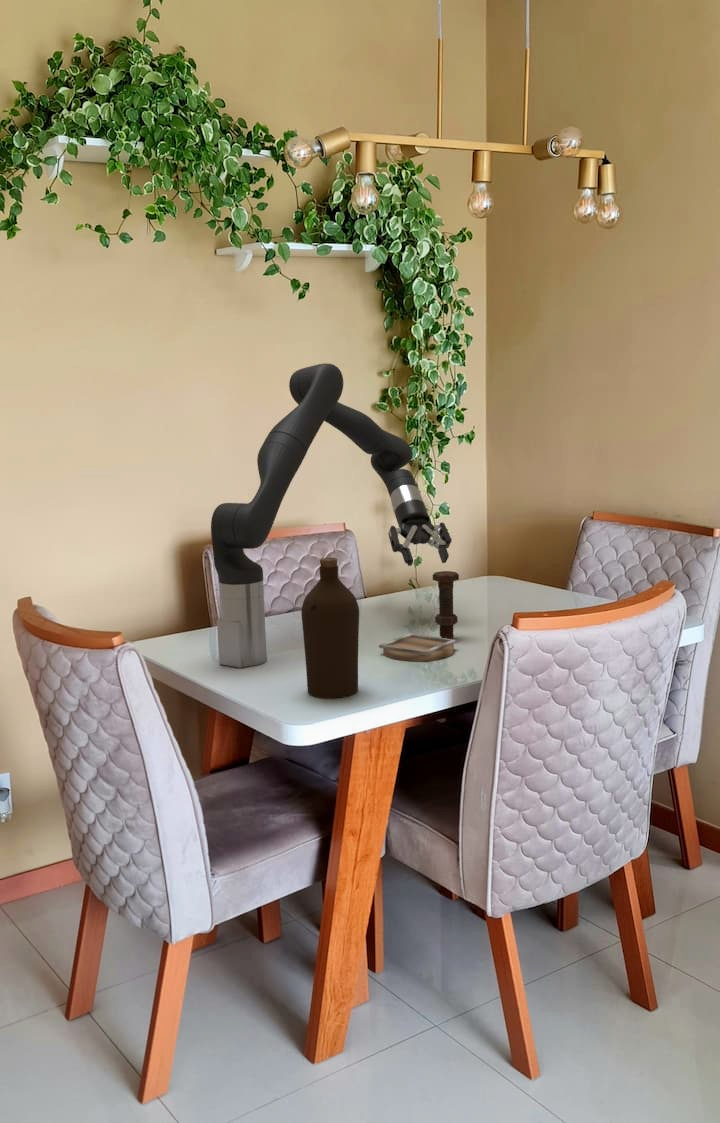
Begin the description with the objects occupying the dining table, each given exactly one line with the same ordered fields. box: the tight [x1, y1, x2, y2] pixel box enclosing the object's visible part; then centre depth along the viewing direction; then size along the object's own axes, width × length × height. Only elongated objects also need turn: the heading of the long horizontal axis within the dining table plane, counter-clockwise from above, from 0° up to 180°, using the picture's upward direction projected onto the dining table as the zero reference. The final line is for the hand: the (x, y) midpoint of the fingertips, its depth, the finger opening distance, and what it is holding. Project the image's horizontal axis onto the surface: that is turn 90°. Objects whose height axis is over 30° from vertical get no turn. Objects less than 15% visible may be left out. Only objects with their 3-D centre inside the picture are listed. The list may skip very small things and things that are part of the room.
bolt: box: [432, 570, 460, 639], centre depth 220 cm, size 6×5×15 cm
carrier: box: [378, 633, 458, 662], centre depth 211 cm, size 15×15×2 cm
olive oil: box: [300, 557, 360, 699], centre depth 182 cm, size 11×11×25 cm
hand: (428, 562), depth 229 cm, fingers open, 8 cm apart
